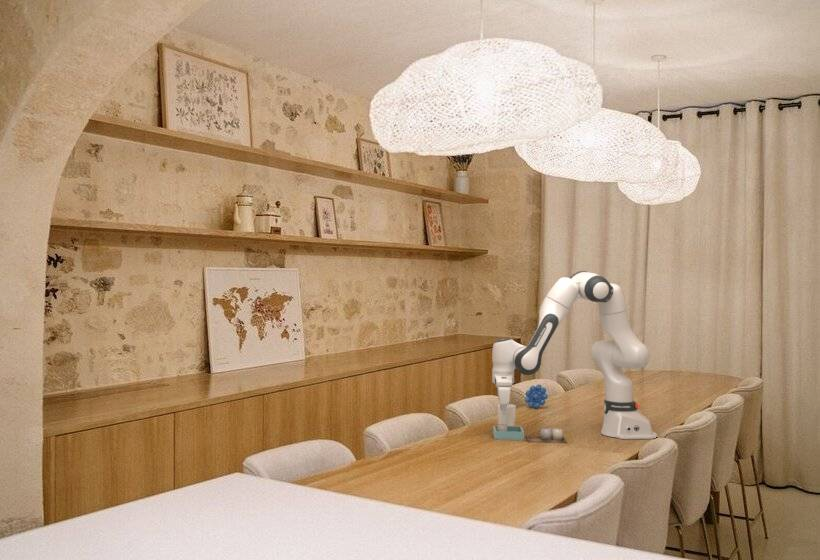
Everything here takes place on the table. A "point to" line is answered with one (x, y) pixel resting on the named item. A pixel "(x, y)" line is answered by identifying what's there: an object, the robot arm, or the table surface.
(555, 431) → the pebble
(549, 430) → the pebble
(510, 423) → the white cup
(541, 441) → the tray
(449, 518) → the table surface
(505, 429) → the pebble
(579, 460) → the table surface
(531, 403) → the grapes
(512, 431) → the teal square bin
